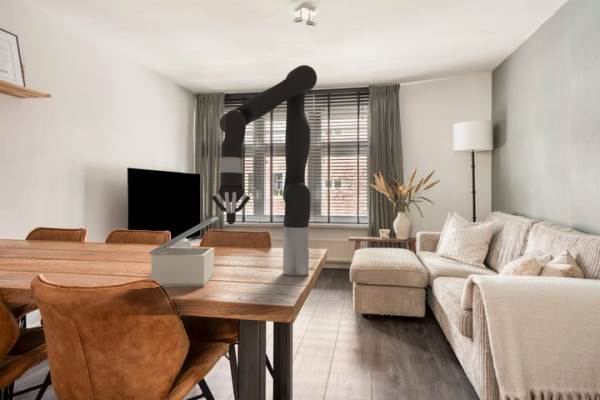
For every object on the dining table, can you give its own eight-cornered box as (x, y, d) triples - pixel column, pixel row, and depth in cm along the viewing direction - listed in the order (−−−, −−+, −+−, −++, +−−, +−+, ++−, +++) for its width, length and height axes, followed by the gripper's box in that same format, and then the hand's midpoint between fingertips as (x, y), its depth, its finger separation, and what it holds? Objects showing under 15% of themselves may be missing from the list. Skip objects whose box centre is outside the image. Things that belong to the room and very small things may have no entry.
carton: (214, 275, 126) (214, 247, 126) (203, 287, 110) (204, 255, 110) (168, 275, 125) (168, 247, 125) (151, 287, 109) (151, 255, 109)
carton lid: (218, 218, 126) (217, 216, 126) (208, 222, 109) (206, 219, 109) (168, 246, 126) (167, 244, 126) (150, 254, 109) (149, 252, 109)
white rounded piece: (170, 268, 137) (171, 236, 137) (181, 267, 140) (182, 235, 140) (180, 273, 129) (181, 239, 129) (192, 271, 132) (192, 238, 132)
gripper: (252, 173, 122) (252, 223, 122) (213, 172, 121) (213, 223, 122) (250, 171, 114) (249, 225, 115) (209, 170, 114) (208, 224, 114)
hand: (230, 224), depth 118 cm, fingers closed
